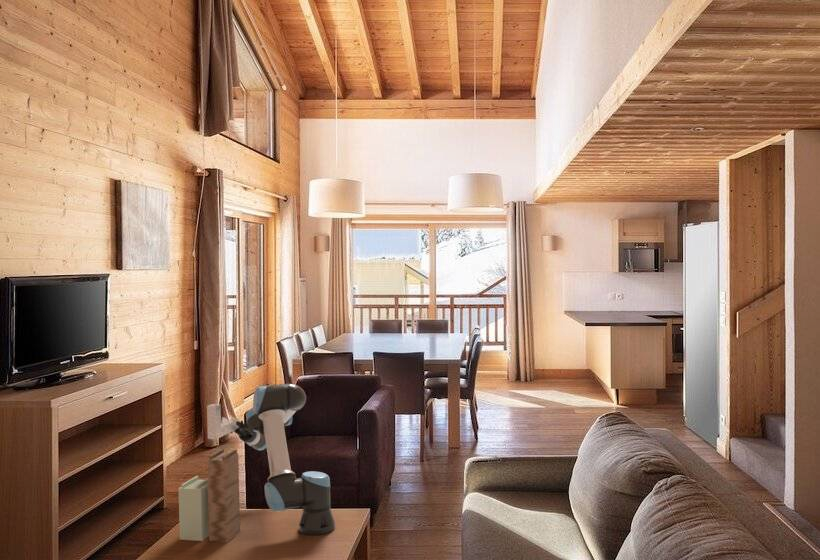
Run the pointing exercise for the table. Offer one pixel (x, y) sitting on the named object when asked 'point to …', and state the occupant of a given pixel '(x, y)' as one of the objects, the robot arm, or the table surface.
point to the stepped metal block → (217, 422)
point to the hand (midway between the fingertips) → (227, 420)
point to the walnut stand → (223, 496)
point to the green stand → (194, 510)
